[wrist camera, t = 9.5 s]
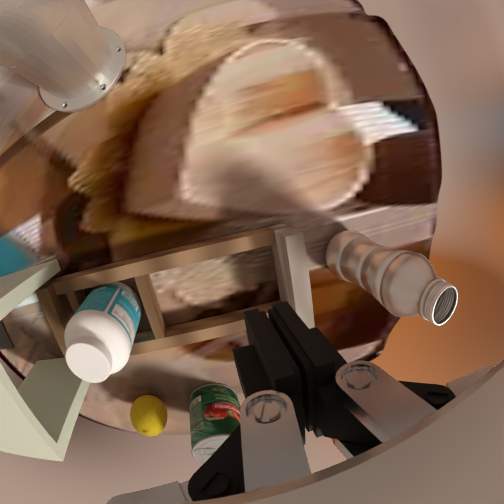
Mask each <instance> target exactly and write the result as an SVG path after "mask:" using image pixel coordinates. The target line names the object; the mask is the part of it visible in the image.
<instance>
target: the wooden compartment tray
mask: <svg viewBox="0 0 504 504" xmlns="http://www.w3.org/2000/svg"><path fill="white" fill-rule="evenodd" d="M269 245H271V246H272V252H273V258H274V264H275V270H276V276H277V282H278V288H279V295H280V300H277V301H273V302H269V303H265V304H262V305H258V306H254V307H250V308H246V309H242V310H238V311H234V312H230V313H226V314H222V315H218V316H213V317H209V318H205V319H201V320H196V321H192V322H187V323H183V324H178V325H174V326H169V327H166V325H165V322H164V319H163V316H162V313H161V310H160V307H159V304H158V301H157V298H156V295H155V292H154V288H153V285H152V282H151V279H150V275H149V274H150V273H154V272H158V271H162V270H167V269H171V268H175V267H179V266H184V265H188V264H192V263H196V262H201V261H205V260H209V259H214V258H218V257H222V256H226V255H231V254H235V253H239V252H243V251H248V250H252V249H256V248H261V247H265V246H269ZM133 277H134V278H135V282H136V285H137V288H138V291H139V294H140V297H141V300H142V303H143V306H144V309H145V311H146V314H147V317H148V320H149V323H150V325H151V328H152V330H150V331H145V332H139V333H136V335H135V338H134V342H133V345H132V349H131V352H130V355H135V354H140V353H146V352H151V351H157V350H162V349H167V348H172V347H177V346H182V345H186V344H191V343H196V342H200V341H205V340H209V339H213V338H218V337H222V336H226V335H230V334H234V333H238V332H242V331H246V326H245V320H244V315H243V312H244V311H248V310H253V309H257V308H258V309H259V311H265V313H266V314H267V316H268V309H272V305H273V304H277V303H281V302H285V301H287V302H288V303H289V304H290V306H291V307H292V308H293V309H294V311H295V312H296V313H297V314H298V316H299V317H300V318H301V319H302V321H303V322H304V323H305V324H306V326H307V327H308V328H309V329H311V328H314V327H315V326H314V315H313V306H312V296H311V288H310V279H309V271H308V263H307V255H306V247H305V240H304V233H303V232H301V231H299V230H297V229H294V228H292V227H290V226H288V225H286V224H284V223H282V224H278V225H273V226H268V227H264V228H259V229H255V230H250V231H246V232H241V233H237V234H232V235H228V236H224V237H219V238H215V239H211V240H206V241H202V242H198V243H193V244H189V245H185V246H181V247H176V248H172V249H168V250H164V251H160V252H156V253H151V254H147V255H143V256H139V257H135V258H131V259H127V260H123V261H119V262H115V263H111V264H107V265H103V266H99V267H95V268H92V269H88V270H84V271H80V272H76V273H72V274H69V275H65V276H61V277H57V278H54V279H50V280H49V281H47V282H46V283H45V284H44V285H42V286H41V287H40V288H39V289H37V290H36V294H37V296H38V299H39V301H40V304H41V306H42V309H43V311H44V314H45V316H46V318H47V321H48V323H49V325H50V328H51V330H52V332H53V334H54V336H55V338H56V340H57V343H58V345H59V347H60V349H61V351H62V353H63V354H64V356H66V350H67V348H66V345H65V339H64V334H65V329H66V326H67V324H68V322H69V321H70V319H71V318H72V316H73V315H74V314H75V312H76V311H77V310H78V308H79V307H80V306H81V304H82V303H83V302H84V301H85V299H86V295H85V293H84V290H83V289H86V288H90V287H95V286H99V285H103V284H107V283H112V282H116V281H120V280H124V279H128V278H133ZM268 318H269V317H268ZM65 358H66V357H65Z"/></svg>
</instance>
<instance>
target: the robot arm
mask: <svg viewBox="0 0 504 504" xmlns="http://www.w3.org/2000/svg"><path fill="white" fill-rule="evenodd" d="M118 51H119V52H118ZM125 61H126V50H125V46H124V44H123V42H122V39H121V38H120V37H119V36H118V34H116V33H115V32H114V31H112V30H110V29H107V28H103V27H100V26H99V25H98V23H97V21H96V20H95V18H94V16H93V14H92V13H91V11H90V9H89V7H88V6H87V4H86V2H85V0H0V64H1V65H3V66H4V67H6V68H8V69H10V70H11V71H13V72H15V73H17V74H19V75H20V76H22V77H24V78H26V79H27V80H29V81H31V82H32V83H34V84H36V85H38V86H39V90H40V94H41V97H42V99H43V101H44V102H45V103H46V104H47V105H48V106H49V107H51V108H52V109H54V110H56V111H60V112H68V113H71V112H77V111H81V110H83V109H86V108H88V107H90V106H92V105H94V104H96V103H97V102H98V101H100V100H101V99H102V98H104V97H105V96H106V95H107V94H108V93H109V92H110V91H111V89H112V88H113V87H114V86H115V84H116V83H117V81H118V80H119V78H120V76H121V74H122V72H123V69H124V66H125ZM104 88H105V89H104ZM103 89H104V90H103ZM66 106H67V107H66ZM243 315H244V320H245V326H246V331H247V336H248V341H249V345H248V346H244V347H240V348H236V349H232V351H233V356H234V360H235V364H236V368H237V372H238V376H239V379H240V383H241V386H242V390H243V393H244V396H245V400H244V401H243V403H242V405H241V406H240V424H239V425H238V427H237V428H236V429H235V430H234V431H233V432H232V433H231V435H230V436H229V437H228V438H227V439H226V440H225V441H224V442H223V444H222V445H221V446H220V447H219V448H218V449H217V450H216V451H215V452H214V453H213V454H212V456H211V457H210V458H209V459H208V460H207V461H206V462H205V463H204V464H203V465H202V466H201V467H200V468H199V469H198V470H197V471H196V473H194V474H193V476H192V477H191V479H190V480H189V481H186V482H183V483H178V482H177V481H176V482H172V483H169V484H165V485H161V486H157V487H154V488H150V489H145V490H141V491H136V492H132V493H127V494H122V495H118V496H115V497H113V498H112V499H110V500H109V501H108V502H107V504H504V360H503V361H501V362H500V363H499V364H497V365H496V366H495V367H494V366H485V367H482V368H480V369H478V370H476V371H474V372H472V373H469V374H467V375H465V376H462V377H460V378H458V379H455V380H453V381H450V382H448V383H447V384H446V386H442V385H437V384H425V383H415V382H405V381H397V380H396V379H394V378H393V377H392V376H390V375H389V374H388V373H386V372H385V371H384V370H382V369H381V368H380V367H378V366H377V365H375V364H373V363H371V362H367V361H354V362H350V363H347V362H346V361H345V360H344V359H343V357H342V356H341V355H340V354H339V353H338V351H337V350H336V349H335V348H334V347H333V346H332V344H331V343H330V342H329V341H328V340H327V339H326V337H325V336H324V335H323V334H322V333H321V332H320V330H319V329H318V328H316V327H314V328H311V329H309V328H308V327H307V326H306V324H305V323H304V322H303V321H302V319H301V318H300V317H299V316H298V314H297V313H296V312H295V311H294V309H293V308H292V307H291V306H290V304H289V303H288V302H287V301H285V302H281V303H277V304H273V305H272V309H268V316H267V314H266V313H265V311H259V309H258V308H257V309H253V310H248V311H244V312H243ZM268 317H269V318H268ZM305 428H306V429H307V431H308V432H309V431H312V430H313V432H314V433H315V435H316V437H319V436H322V435H323V436H325V437H329V438H332V441H333V443H334V445H335V446H336V447H337V448H338V449H339V451H340V452H341V453H342V454H343V455H344V456H345V457H346V459H347V460H346V461H343V462H341V463H339V464H336V465H334V466H331V467H329V468H326V469H324V470H321V471H318V472H315V473H313V474H311V471H310V467H309V464H308V460H307V456H306V452H305V449H304V444H305Z"/></svg>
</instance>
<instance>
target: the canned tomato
mask: <svg viewBox="0 0 504 504" xmlns="http://www.w3.org/2000/svg"><path fill="white" fill-rule="evenodd" d="M189 410H190V412H189V413H190V428H191V430H190V431H191V444H192V456H193V457H194V459H195V460H197V461H198V462H199V463H201V464H204V463H205V462H206V461H207V460H208V459H209V458H210V457H211V456H212V454H213V453H214V452H215V451H216V450H217V449H218V448H219V447H220V446H221V445H222V444H223V442H224V441H225V440H226V439H227V438H228V437H229V436H230V435H231V433H232V432H233V431H234V430H235V429H236V428H237V427H238V425H239V424H240V404H239V401H238V396H237V394H236V392H235V391H234V390H233V389H232V388H230V387H229V386H226V385H224V384H217V383H212V384H206V385H203V386H200V387H198V388H196V389H195V390H194V391H193V392H192V393H191V395H190V397H189Z"/></svg>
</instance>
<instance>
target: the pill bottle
mask: <svg viewBox="0 0 504 504" xmlns="http://www.w3.org/2000/svg"><path fill="white" fill-rule="evenodd" d="M140 318H141V304H140V300H139V298H138V296H137V295H136V293H135V292H134V291H133V290H132V289H131V288H130V287H129V286H127V285H126V284H124V283H121V282H118V281H116V282H112V283H107V284H103V285H99V286H96V287H95V288H94V289H93V290H92V291H91V293H90V294H89V295H88V297H87V298H86V299H85V301H84V302H83V303H82V304H81V306H80V307H79V308H78V310H77V311H76V312H75V314H74V315H73V316H72V318H71V319H70V321H69V322H68V324H67V326H66V329H65V334H64V339H65V345H66V348H67V350H66V356H65V357H66V362H67V365H68V366H69V368H70V370H71V371H72V372H73V373H74V374H75V375H76V376H78V377H79V378H81V379H82V380H85V381H87V382H92V383H98V382H102V381H104V380H106V379H107V378H108V376H109V374H113V373H116V372H118V371H119V370H121V369H122V368H123V367H124V366H125V365H126V363H127V361H128V359H129V356H130V352H131V349H132V345H133V342H134V338H135V335H136V331H137V328H138V325H139V321H140Z"/></svg>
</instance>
